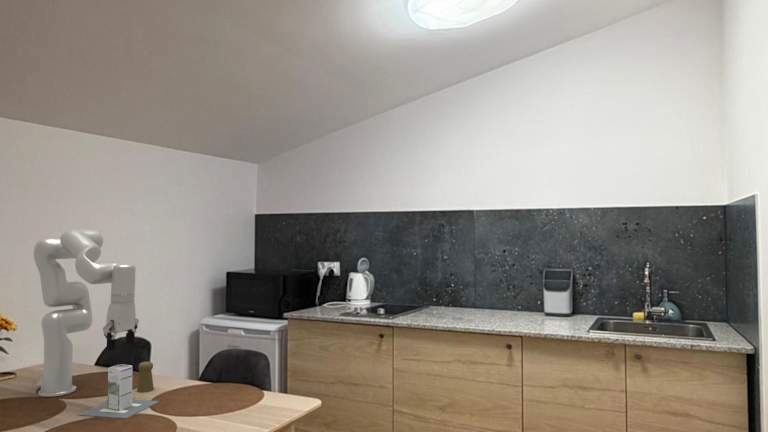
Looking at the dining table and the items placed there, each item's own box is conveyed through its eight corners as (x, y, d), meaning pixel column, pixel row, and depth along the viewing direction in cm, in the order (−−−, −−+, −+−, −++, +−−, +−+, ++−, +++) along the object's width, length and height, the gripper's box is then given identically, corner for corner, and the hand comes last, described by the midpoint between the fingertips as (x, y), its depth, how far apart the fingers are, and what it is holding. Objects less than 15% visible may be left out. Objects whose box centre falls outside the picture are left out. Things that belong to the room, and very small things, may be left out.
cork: (147, 393, 200) (148, 364, 200) (133, 392, 201) (134, 363, 201) (157, 388, 205) (157, 360, 206) (143, 387, 206) (143, 359, 207)
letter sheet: (78, 415, 175) (78, 414, 175) (115, 398, 192) (115, 398, 192) (126, 418, 171) (126, 417, 171) (159, 401, 189) (159, 401, 189)
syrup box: (132, 406, 183) (133, 364, 184) (118, 411, 178) (119, 368, 178) (120, 404, 185) (121, 363, 186) (106, 409, 180) (107, 367, 180)
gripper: (129, 295, 193) (127, 341, 192) (95, 301, 176) (93, 352, 175) (147, 296, 191) (145, 342, 191) (115, 302, 174) (112, 353, 174)
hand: (120, 347), depth 183 cm, fingers open, 9 cm apart
